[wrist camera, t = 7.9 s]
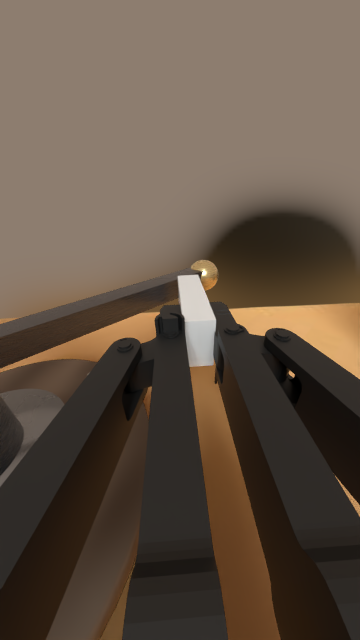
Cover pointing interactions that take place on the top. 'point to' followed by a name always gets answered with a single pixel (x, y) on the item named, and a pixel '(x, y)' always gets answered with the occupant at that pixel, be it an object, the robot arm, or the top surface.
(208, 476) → the top surface
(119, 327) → the top surface
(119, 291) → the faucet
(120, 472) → the dial base
